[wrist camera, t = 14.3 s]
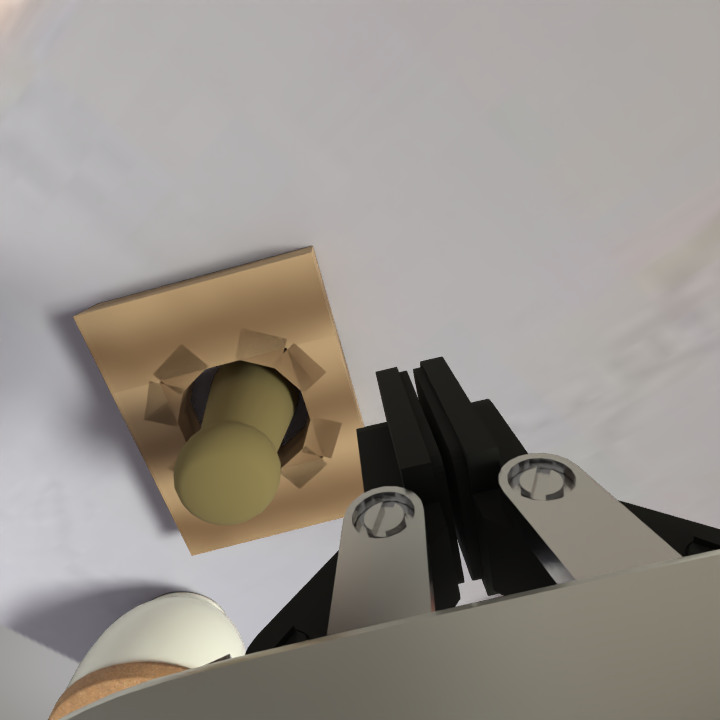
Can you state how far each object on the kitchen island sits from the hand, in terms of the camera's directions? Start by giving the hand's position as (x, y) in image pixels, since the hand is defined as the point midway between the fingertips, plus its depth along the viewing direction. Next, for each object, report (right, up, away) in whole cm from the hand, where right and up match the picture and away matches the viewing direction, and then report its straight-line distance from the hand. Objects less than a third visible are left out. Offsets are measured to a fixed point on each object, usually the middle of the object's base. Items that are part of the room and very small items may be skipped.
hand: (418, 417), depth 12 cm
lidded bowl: (-16, -21, +28) cm, 38 cm away
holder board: (-9, -1, +21) cm, 23 cm away
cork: (-9, -1, +21) cm, 23 cm away
